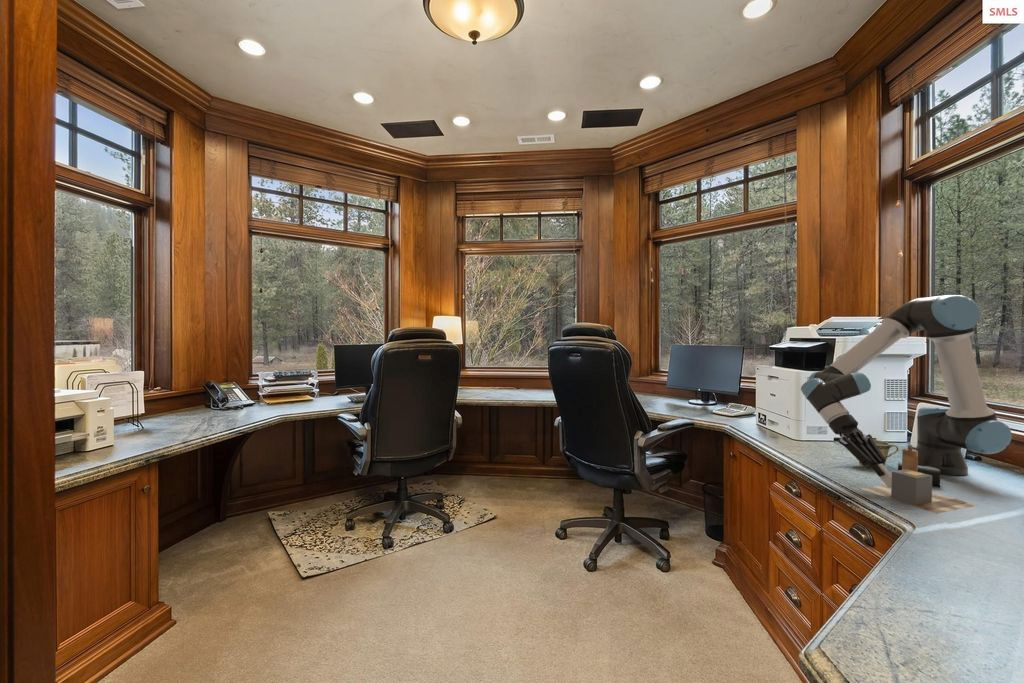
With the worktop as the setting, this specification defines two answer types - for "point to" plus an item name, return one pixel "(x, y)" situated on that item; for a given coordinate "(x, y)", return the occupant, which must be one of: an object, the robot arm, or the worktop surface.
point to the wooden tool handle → (910, 459)
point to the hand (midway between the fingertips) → (893, 485)
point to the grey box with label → (911, 487)
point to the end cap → (929, 471)
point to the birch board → (937, 505)
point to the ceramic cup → (883, 449)
